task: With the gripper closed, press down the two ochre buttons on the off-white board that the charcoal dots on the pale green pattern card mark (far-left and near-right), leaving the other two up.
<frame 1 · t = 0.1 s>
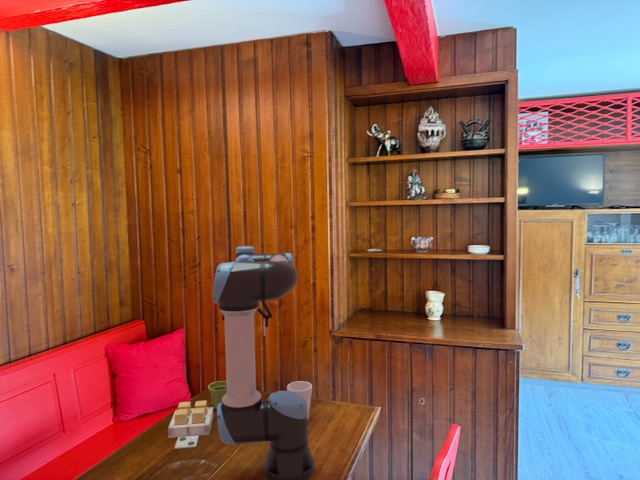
hand: (247, 335, 178), 28 cm above the table, fingers open, 13 cm apart
board: (192, 426, 160), on the table
pattern card: (187, 442, 150), on the table
button far left: (184, 409, 163), point 5 cm above the table, slide at 0.0 cm
button far right: (201, 408, 163), point 5 cm above the table, slide at 0.0 cm
button near left: (181, 417, 157), point 5 cm above the table, slide at 0.0 cm
foam cup: (300, 419, 165), on the table
plant pot: (220, 406, 176), on the table
button near right: (198, 415, 157), point 5 cm above the table, slide at 0.0 cm
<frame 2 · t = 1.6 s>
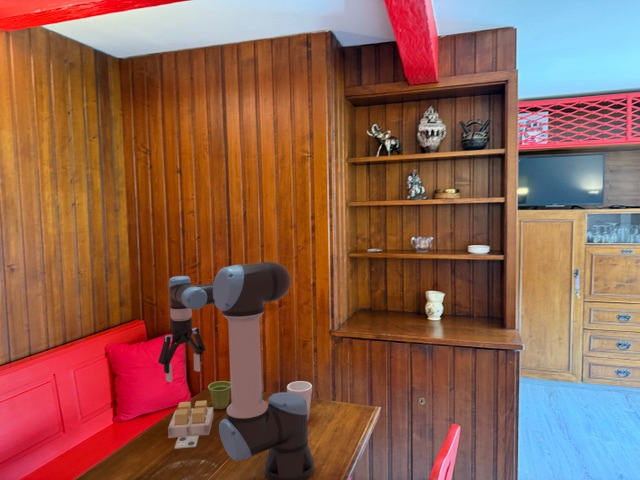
hand: (183, 375, 162), 18 cm above the table, fingers open, 11 cm apart
nothing on the table moved.
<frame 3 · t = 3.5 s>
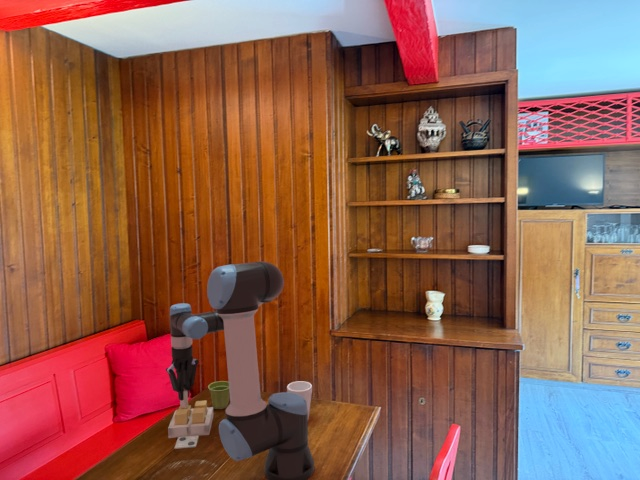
hand: (184, 407, 163), 6 cm above the table, fingers closed
button far left: (184, 413, 163), point 4 cm above the table, slide at 1.4 cm, touching gripper
everything else where it was.
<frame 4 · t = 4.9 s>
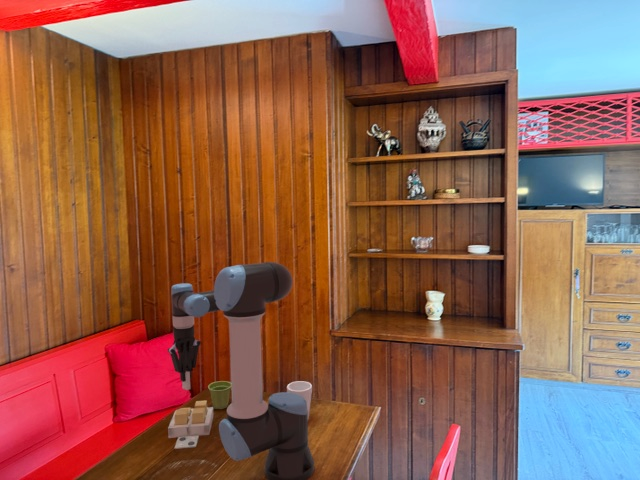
hand: (186, 388, 161), 14 cm above the table, fingers closed
button far left: (184, 415, 163), point 3 cm above the table, slide at 2.3 cm
everything else where it was.
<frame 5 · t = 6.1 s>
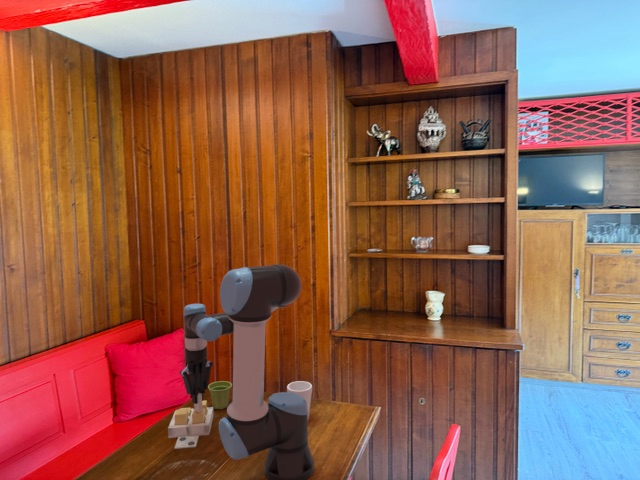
hand: (198, 410, 157), 7 cm above the table, fingers closed
button near right: (198, 416, 157), point 5 cm above the table, slide at 0.4 cm, touching gripper
everything else where it was.
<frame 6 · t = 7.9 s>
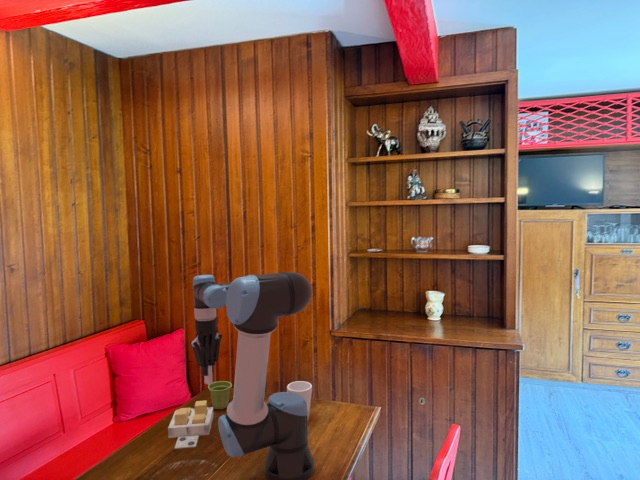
hand: (208, 383, 156), 18 cm above the table, fingers closed
button near right: (198, 422, 158), point 3 cm above the table, slide at 2.4 cm
everything else where it was.
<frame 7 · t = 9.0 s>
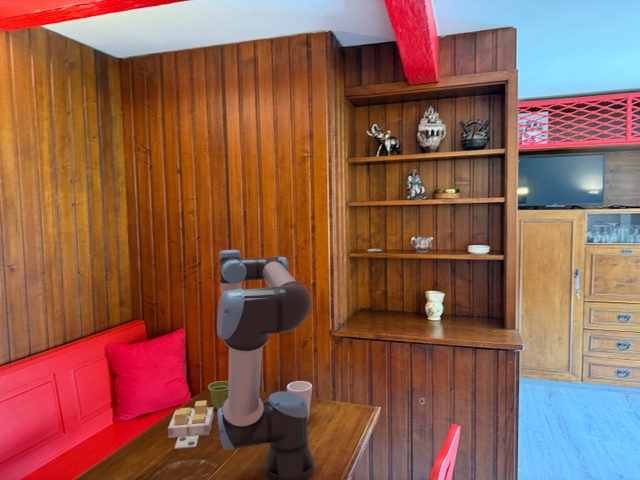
hand: (233, 358, 156), 26 cm above the table, fingers closed
nothing on the table moved.
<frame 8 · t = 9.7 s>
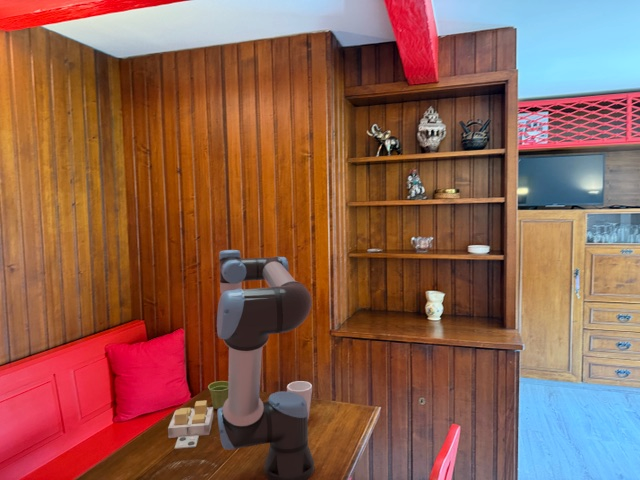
hand: (233, 358, 156), 26 cm above the table, fingers closed
nothing on the table moved.
at the end: button far left slide at 2.3 cm; button near right slide at 2.4 cm; button far right slide at 0.0 cm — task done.
